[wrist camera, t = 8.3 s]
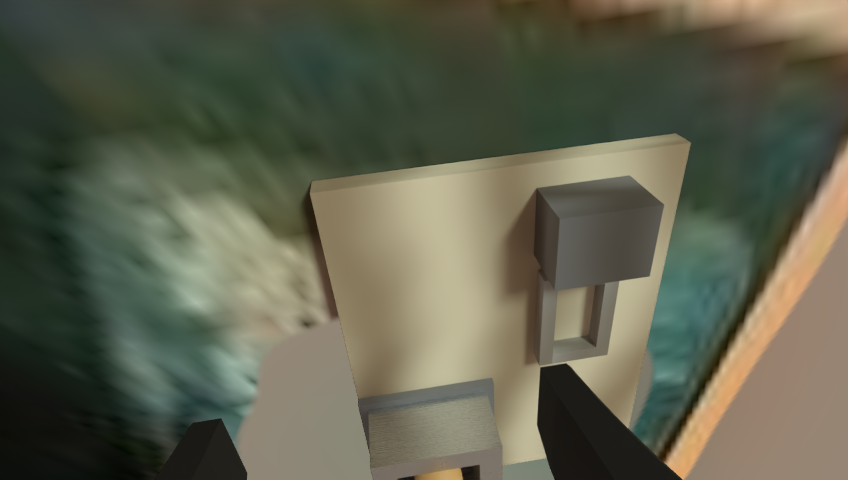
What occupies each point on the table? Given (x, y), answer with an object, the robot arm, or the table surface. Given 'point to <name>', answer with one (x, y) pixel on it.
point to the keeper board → (504, 272)
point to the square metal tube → (436, 439)
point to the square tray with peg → (454, 476)
